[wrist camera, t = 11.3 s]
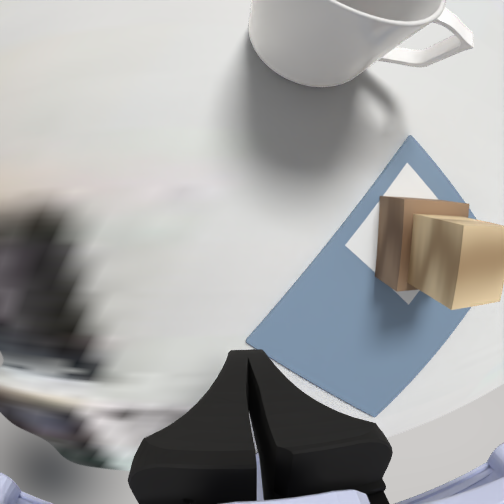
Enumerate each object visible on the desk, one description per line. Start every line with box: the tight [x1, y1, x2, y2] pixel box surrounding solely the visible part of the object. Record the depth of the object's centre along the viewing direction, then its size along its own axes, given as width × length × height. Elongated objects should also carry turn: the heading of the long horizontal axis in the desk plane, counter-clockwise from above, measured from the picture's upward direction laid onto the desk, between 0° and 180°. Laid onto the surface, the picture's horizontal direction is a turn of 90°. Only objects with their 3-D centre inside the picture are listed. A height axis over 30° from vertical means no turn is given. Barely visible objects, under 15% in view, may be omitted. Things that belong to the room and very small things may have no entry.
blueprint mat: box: [246, 135, 477, 417], centre depth 23 cm, size 20×16×1 cm
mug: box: [248, 0, 473, 87], centre depth 13 cm, size 12×9×11 cm
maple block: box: [407, 214, 504, 310], centre depth 16 cm, size 4×4×5 cm
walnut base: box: [375, 196, 469, 292], centre depth 20 cm, size 6×6×4 cm
